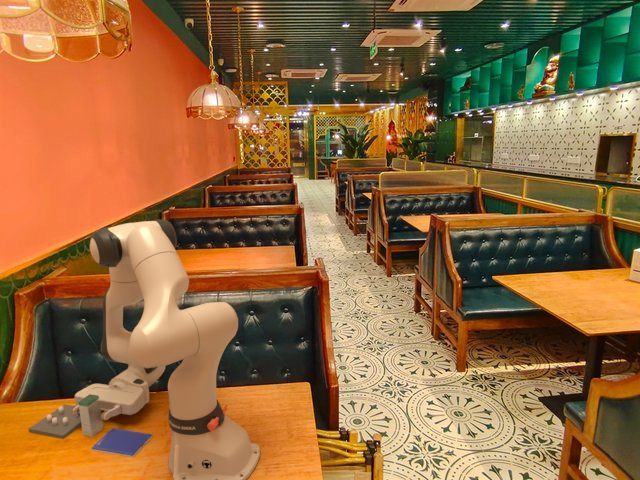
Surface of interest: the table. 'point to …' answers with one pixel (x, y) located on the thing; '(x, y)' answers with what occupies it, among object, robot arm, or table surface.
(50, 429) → the dock
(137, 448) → the hard drive
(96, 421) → the block
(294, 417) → the table surface
